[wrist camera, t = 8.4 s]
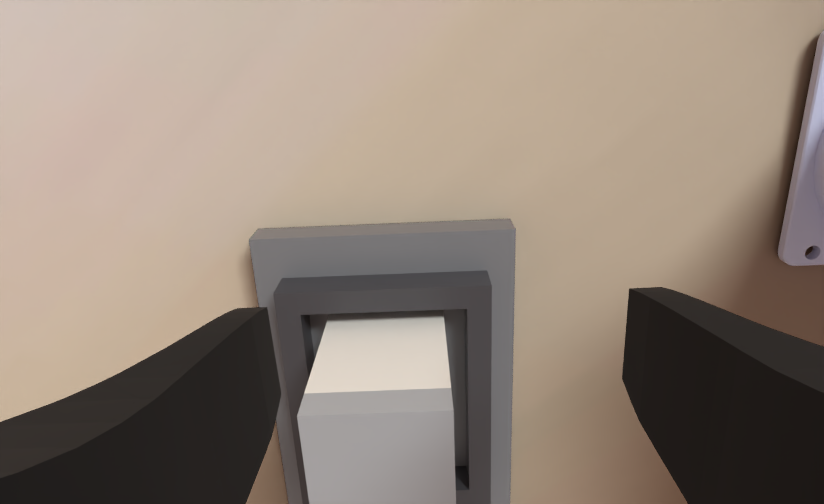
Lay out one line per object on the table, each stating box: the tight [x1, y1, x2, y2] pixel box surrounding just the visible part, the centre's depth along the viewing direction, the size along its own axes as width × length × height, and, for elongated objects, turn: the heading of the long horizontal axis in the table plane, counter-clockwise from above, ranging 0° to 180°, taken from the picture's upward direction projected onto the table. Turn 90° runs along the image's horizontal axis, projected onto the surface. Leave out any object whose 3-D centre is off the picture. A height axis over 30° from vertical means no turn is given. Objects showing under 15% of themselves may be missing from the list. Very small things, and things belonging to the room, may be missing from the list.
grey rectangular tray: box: [249, 219, 516, 504], centre depth 22 cm, size 9×20×5 cm, turn 2°
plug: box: [297, 310, 456, 504], centre depth 18 cm, size 4×6×6 cm, turn 3°
